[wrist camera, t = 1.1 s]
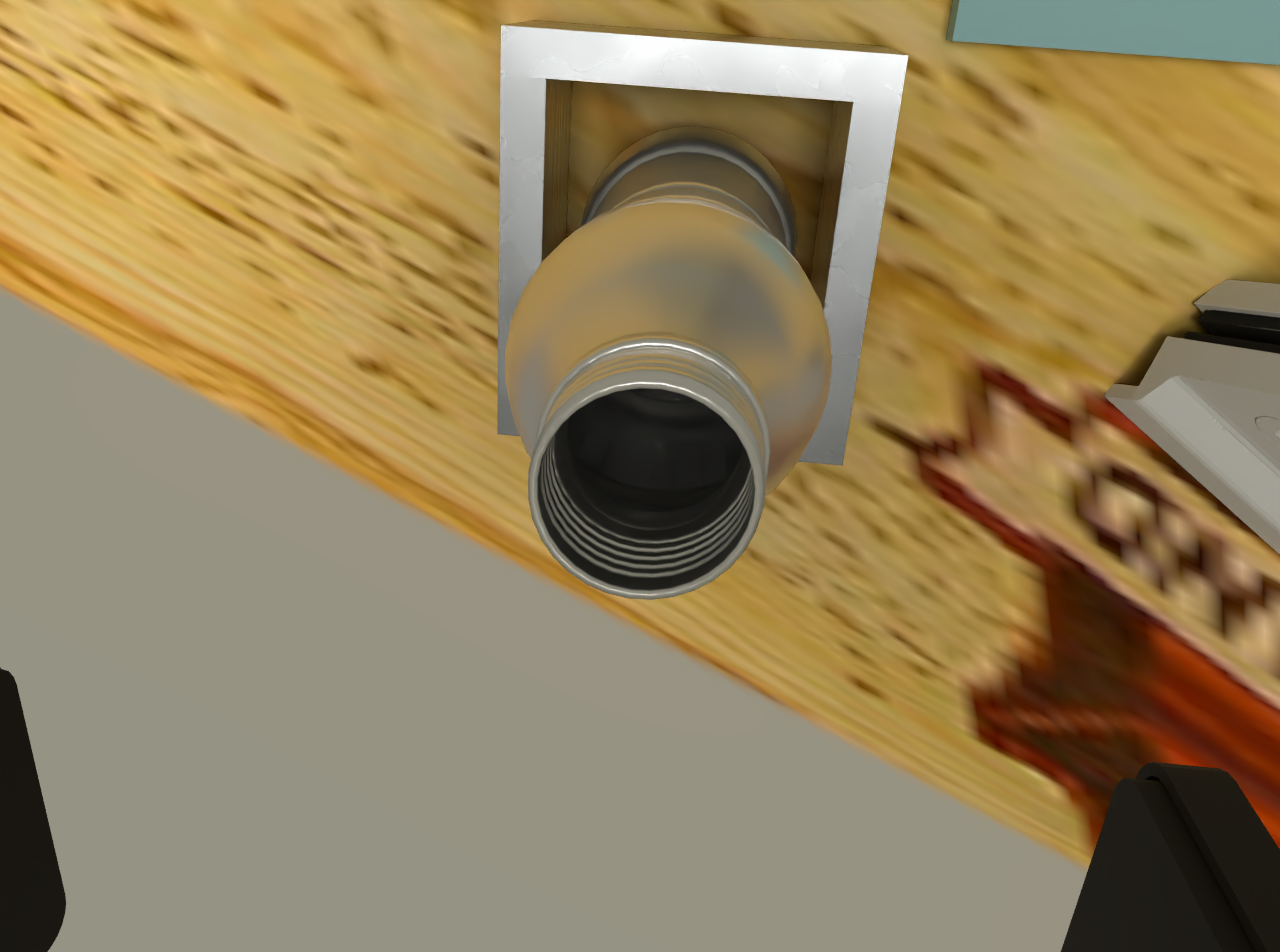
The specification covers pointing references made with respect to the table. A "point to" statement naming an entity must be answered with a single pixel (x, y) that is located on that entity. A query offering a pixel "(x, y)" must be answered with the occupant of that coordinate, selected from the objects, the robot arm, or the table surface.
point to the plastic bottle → (667, 366)
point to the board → (1127, 26)
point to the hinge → (1221, 401)
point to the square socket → (842, 72)
